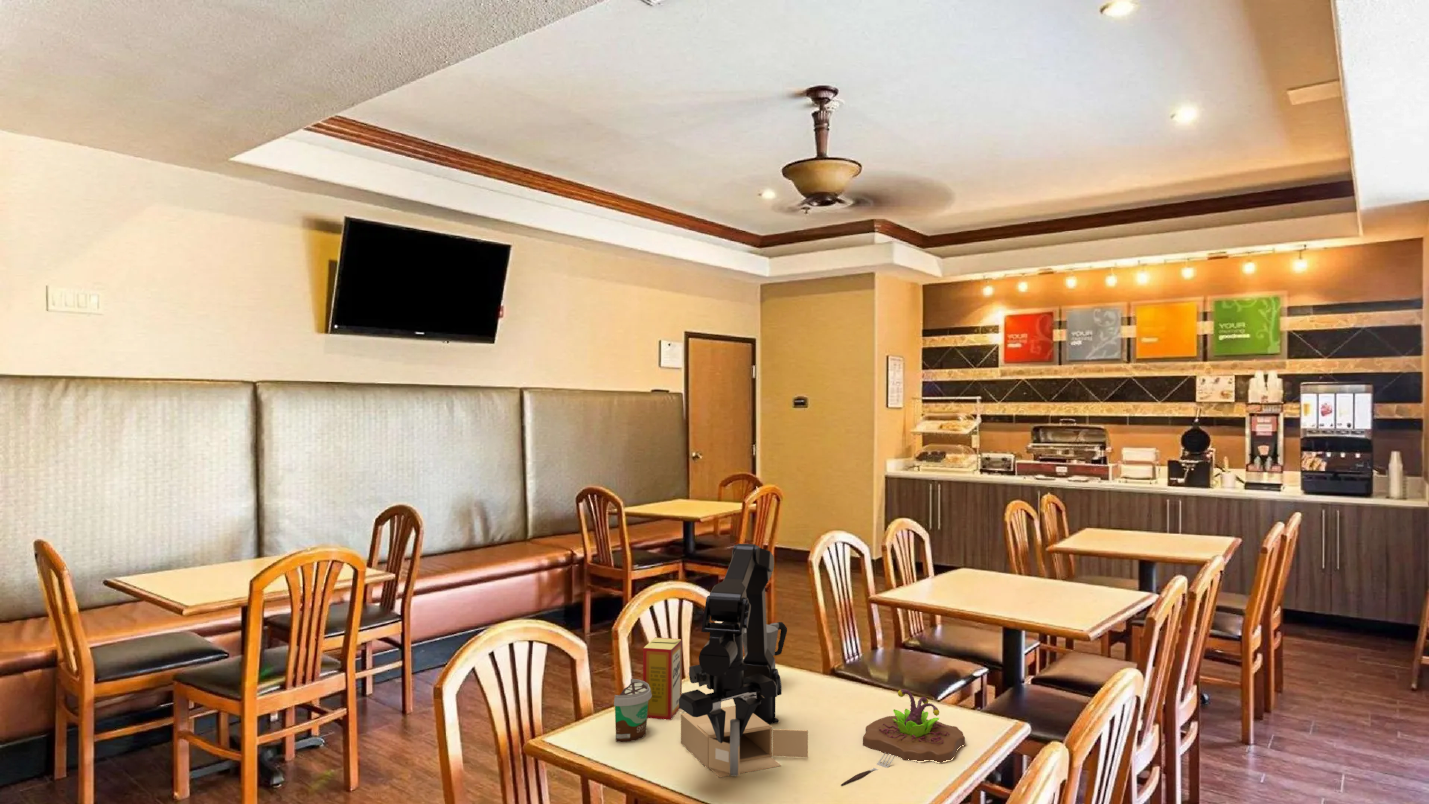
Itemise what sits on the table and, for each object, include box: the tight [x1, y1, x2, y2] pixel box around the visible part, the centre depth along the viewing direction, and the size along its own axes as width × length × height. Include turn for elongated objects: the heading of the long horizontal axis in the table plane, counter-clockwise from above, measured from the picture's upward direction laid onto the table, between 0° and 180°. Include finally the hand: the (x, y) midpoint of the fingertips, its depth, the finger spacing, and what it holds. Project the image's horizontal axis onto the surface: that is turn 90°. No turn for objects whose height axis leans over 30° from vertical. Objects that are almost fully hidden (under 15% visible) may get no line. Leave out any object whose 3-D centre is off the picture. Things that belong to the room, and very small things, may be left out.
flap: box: [709, 719, 741, 777], centre depth 160 cm, size 7×2×10 cm, turn 55°
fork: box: [840, 752, 896, 787], centre depth 161 cm, size 3×16×2 cm, turn 134°
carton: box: [680, 705, 809, 778], centre depth 171 cm, size 20×19×6 cm
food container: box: [613, 678, 652, 743], centre depth 180 cm, size 12×6×10 cm, turn 168°
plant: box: [862, 688, 966, 762], centre depth 176 cm, size 20×20×11 cm
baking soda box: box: [642, 636, 683, 721], centre depth 194 cm, size 10×6×16 cm
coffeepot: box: [743, 621, 788, 657], centre depth 211 cm, size 15×9×18 cm, turn 125°
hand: (729, 739), depth 158 cm, fingers open, 4 cm apart
